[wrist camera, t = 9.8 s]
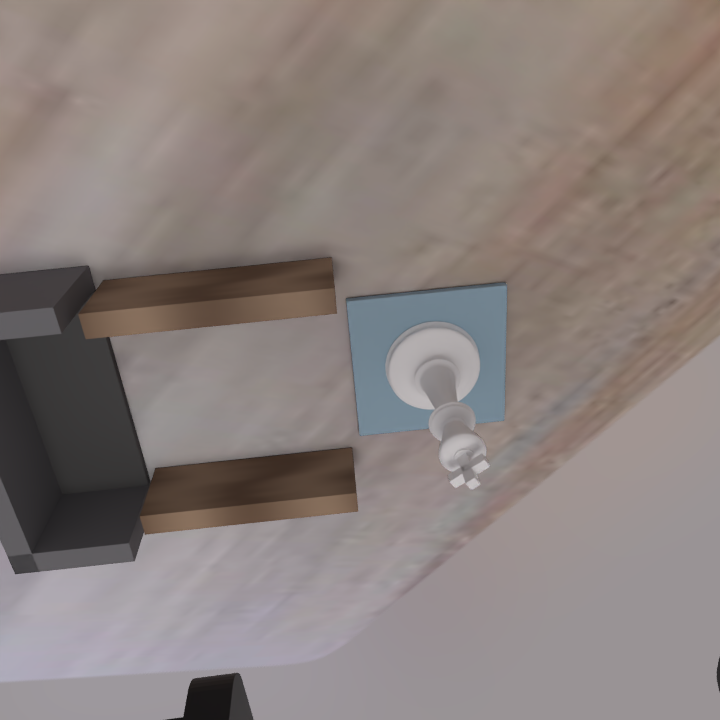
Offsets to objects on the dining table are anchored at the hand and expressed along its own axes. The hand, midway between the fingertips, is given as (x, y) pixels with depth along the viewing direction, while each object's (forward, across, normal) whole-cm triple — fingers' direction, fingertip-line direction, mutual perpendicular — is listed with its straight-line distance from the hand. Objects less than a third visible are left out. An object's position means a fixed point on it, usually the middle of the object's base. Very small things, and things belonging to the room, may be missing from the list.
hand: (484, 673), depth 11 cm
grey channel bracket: (+24, +17, +7) cm, 30 cm away
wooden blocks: (+24, +8, +7) cm, 26 cm away
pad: (+24, -2, +7) cm, 25 cm away
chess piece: (+24, -2, +7) cm, 25 cm away
